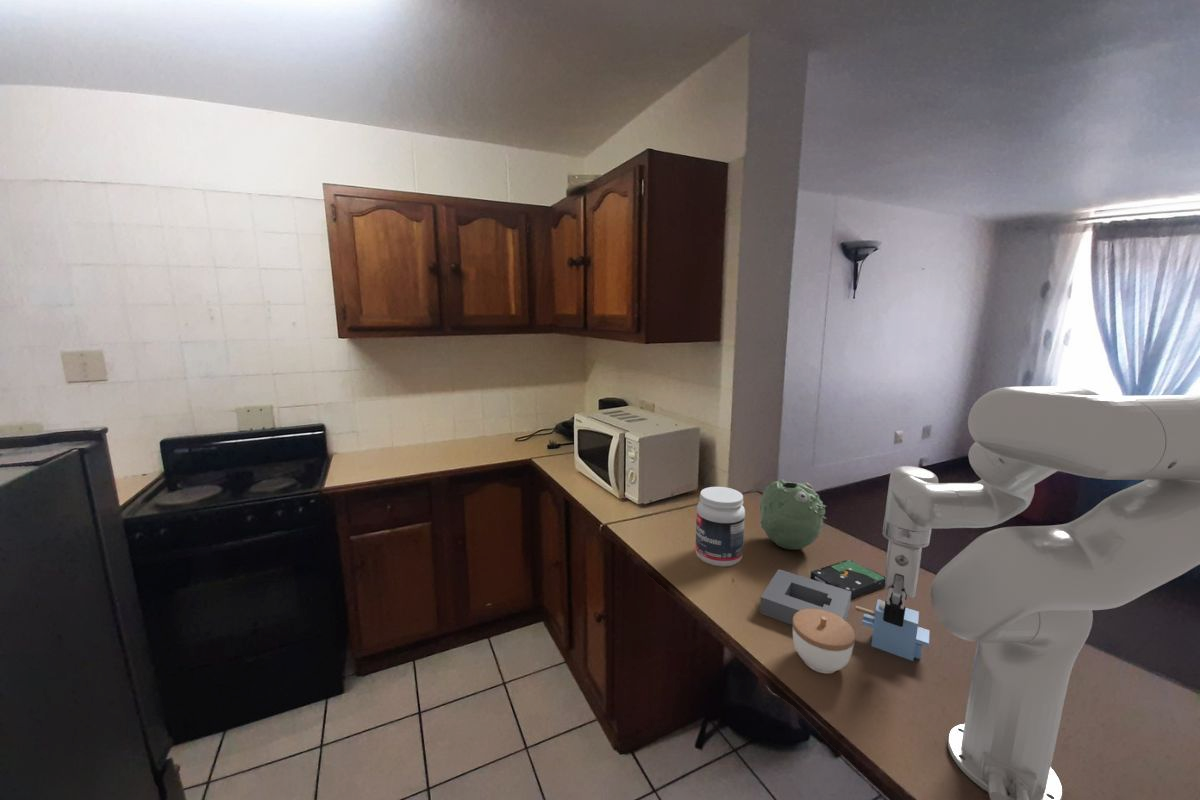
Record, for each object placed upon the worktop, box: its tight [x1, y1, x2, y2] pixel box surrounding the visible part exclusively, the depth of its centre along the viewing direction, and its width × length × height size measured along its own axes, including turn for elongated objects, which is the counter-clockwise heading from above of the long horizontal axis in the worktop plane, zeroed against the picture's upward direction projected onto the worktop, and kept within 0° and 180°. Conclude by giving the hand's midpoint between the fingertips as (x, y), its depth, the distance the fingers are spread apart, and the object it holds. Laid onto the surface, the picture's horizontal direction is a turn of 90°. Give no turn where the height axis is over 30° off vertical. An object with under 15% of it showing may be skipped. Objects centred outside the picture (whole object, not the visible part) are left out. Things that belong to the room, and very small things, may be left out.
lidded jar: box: [792, 609, 856, 675], centre depth 87 cm, size 11×11×9 cm
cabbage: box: [759, 478, 828, 550], centre depth 130 cm, size 16×19×20 cm
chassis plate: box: [759, 569, 852, 626], centre depth 103 cm, size 14×16×4 cm
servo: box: [854, 598, 930, 662], centre depth 91 cm, size 13×4×9 cm, turn 53°
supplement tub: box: [694, 486, 746, 567], centre depth 125 cm, size 13×13×18 cm
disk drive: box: [809, 559, 886, 600], centre depth 114 cm, size 10×3×15 cm
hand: (894, 609), depth 91 cm, fingers open, 9 cm apart
